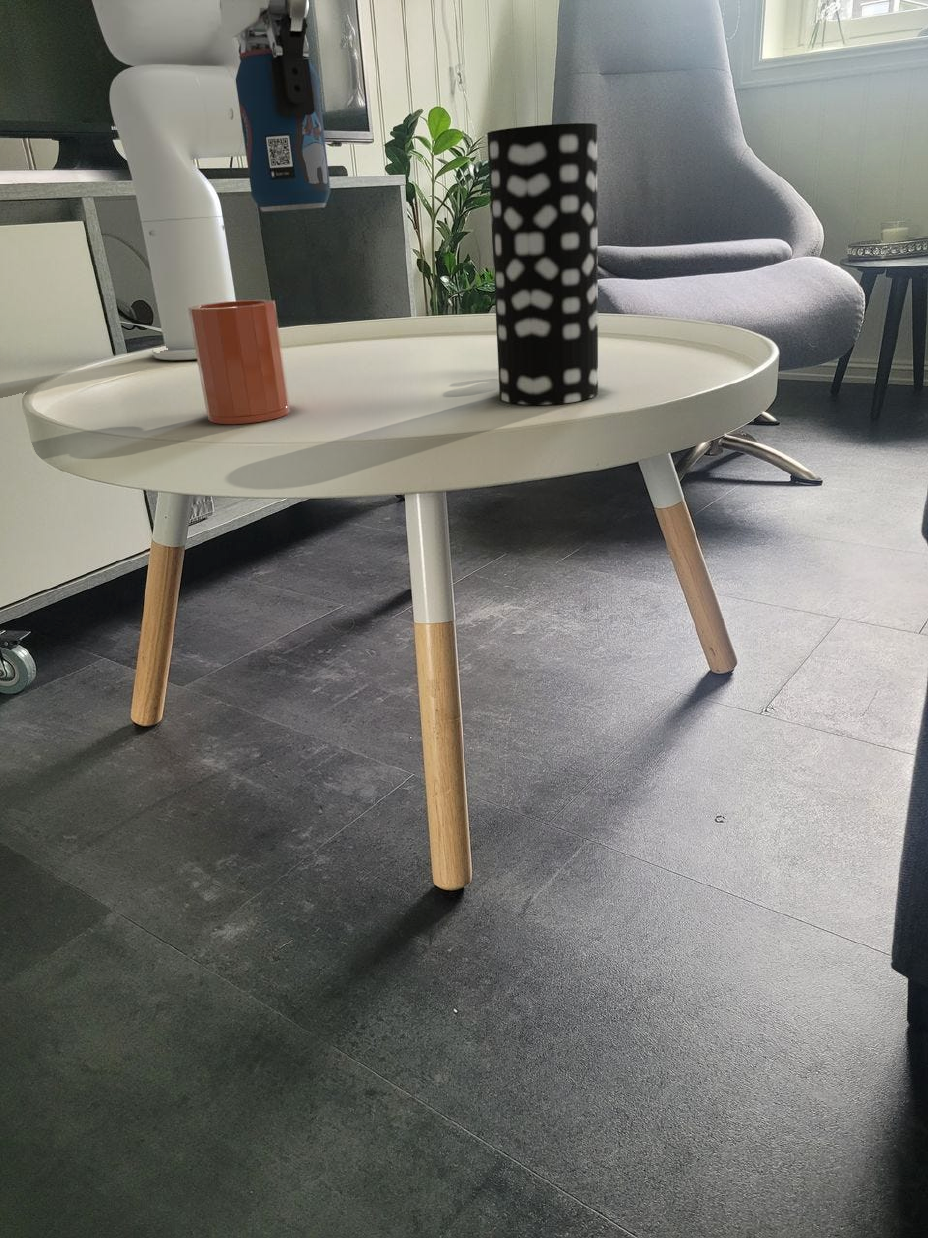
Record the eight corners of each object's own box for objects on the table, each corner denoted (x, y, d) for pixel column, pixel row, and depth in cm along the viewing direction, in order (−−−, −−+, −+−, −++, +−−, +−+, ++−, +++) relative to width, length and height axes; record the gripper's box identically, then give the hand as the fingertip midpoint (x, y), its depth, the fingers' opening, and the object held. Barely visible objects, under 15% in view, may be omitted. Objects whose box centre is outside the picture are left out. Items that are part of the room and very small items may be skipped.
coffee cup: (200, 415, 79) (181, 305, 76) (276, 403, 82) (261, 297, 78) (219, 428, 74) (198, 311, 70) (300, 415, 76) (284, 302, 73)
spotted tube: (527, 409, 73) (517, 125, 65) (483, 394, 80) (469, 136, 72) (617, 395, 76) (618, 121, 68) (567, 381, 83) (563, 132, 75)
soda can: (263, 211, 85) (242, 62, 80) (337, 206, 85) (320, 56, 80) (246, 212, 79) (222, 50, 74) (326, 206, 79) (307, 43, 74)
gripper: (176, -106, 78) (213, 131, 85) (230, -185, 63) (269, 108, 71) (262, -99, 81) (291, 129, 88) (332, -174, 66) (359, 106, 74)
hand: (281, 118), depth 79 cm, fingers closed on soda can, 7 cm apart
